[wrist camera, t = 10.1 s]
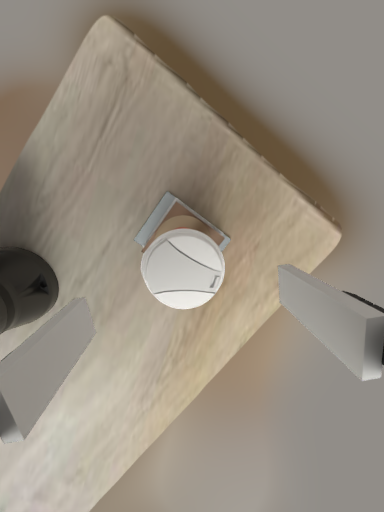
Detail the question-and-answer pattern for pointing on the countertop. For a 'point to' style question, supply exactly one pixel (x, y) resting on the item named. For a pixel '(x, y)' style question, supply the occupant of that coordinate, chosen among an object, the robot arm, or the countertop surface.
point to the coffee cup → (183, 268)
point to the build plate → (161, 213)
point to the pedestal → (183, 224)
